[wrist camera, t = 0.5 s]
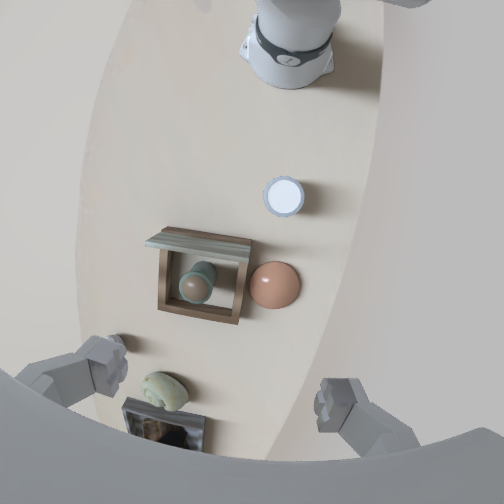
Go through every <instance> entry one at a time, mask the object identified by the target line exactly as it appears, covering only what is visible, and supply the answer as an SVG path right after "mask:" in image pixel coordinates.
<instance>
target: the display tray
mask: <svg viewBox="0 0 504 504" xmlns="http://www.w3.org/2000/svg"><path fill="white" fill-rule="evenodd" d="M122 411H123V415H124V419H125V423H126V426H127V430H128V434H131V435H134V436H138V437H141V438H143V434H144V432H143V426H142V424H143V422H144V418H151V419H154V420H158V421H161V422H165V423H169V424H173V425H178V426H182V427H183V428H184V429H185V431H186V432H187V433H188V434H187V435H186V440H187V443H188V445H189V448H190V450H192V451H197V452H202V453H203V441H204V428H205V416H201V415H196V414H191V413H186V412H182V411H177V410H175V411H167V410H165V409H164V407H156V406H154V405H153V404H150V403H147V402H143V401H140V400H136V399H133V398H130V397H127V399H126V401H125V403H124V404H123V406H122Z"/></svg>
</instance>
